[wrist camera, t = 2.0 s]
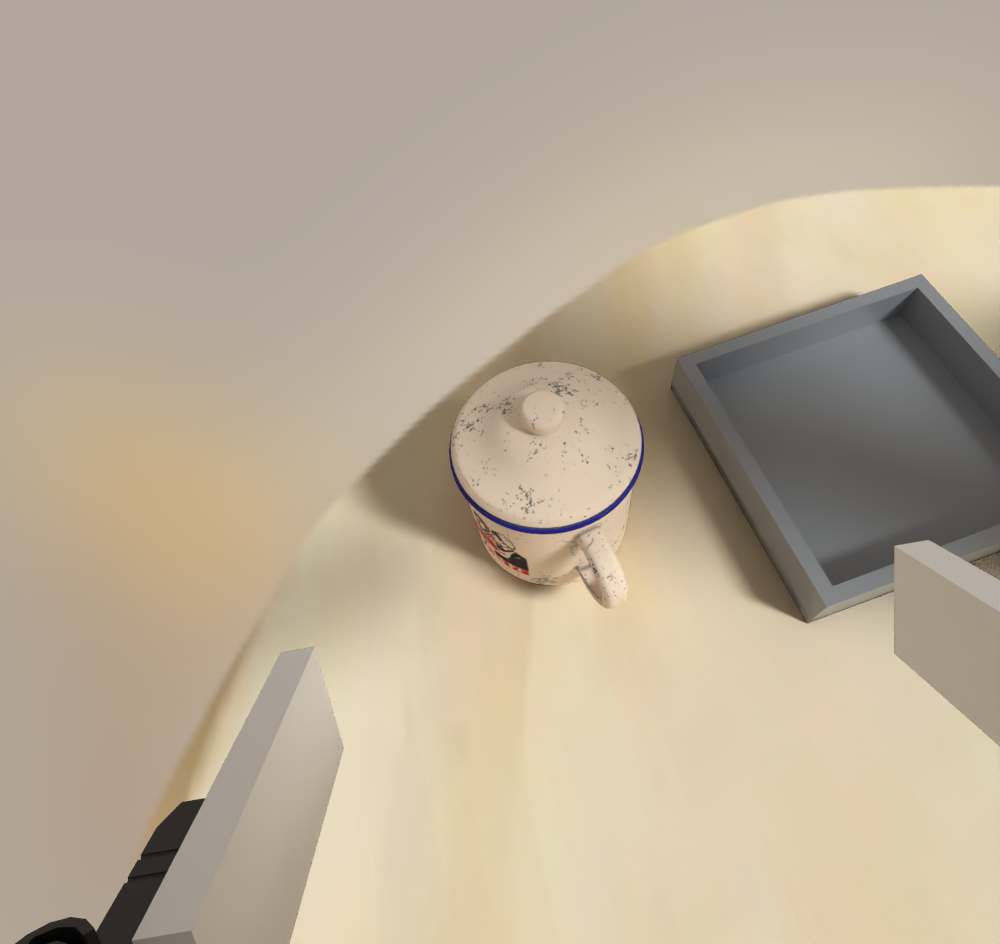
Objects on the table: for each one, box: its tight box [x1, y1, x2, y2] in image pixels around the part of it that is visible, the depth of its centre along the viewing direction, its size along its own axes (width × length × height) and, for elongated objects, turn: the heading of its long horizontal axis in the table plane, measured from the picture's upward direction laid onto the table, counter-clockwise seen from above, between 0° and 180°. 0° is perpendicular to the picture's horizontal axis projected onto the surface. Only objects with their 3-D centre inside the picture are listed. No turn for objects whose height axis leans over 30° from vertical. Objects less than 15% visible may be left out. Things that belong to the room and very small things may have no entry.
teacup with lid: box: [449, 361, 644, 608], centre depth 32 cm, size 12×9×12 cm
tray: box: [671, 274, 1000, 623], centre depth 36 cm, size 16×16×3 cm
